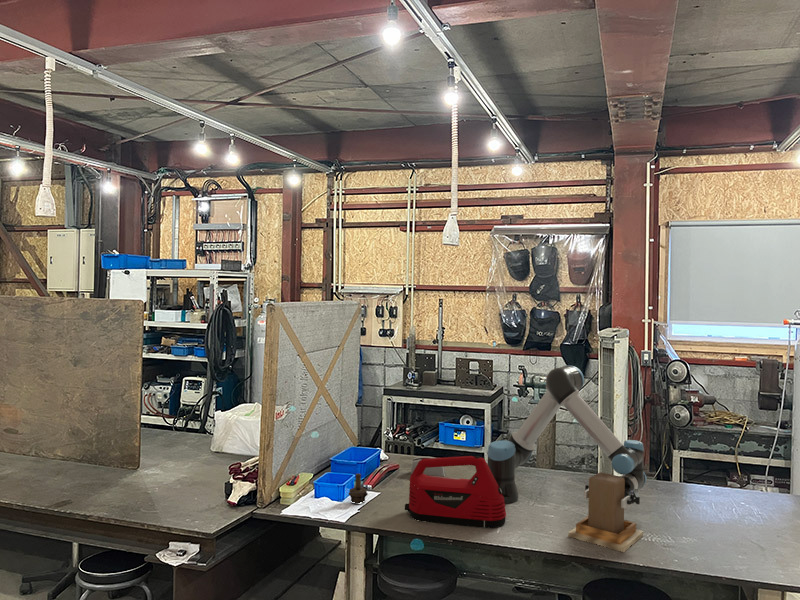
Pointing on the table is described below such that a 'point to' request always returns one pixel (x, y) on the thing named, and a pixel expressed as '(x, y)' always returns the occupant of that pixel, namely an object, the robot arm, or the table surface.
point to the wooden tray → (607, 535)
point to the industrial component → (358, 491)
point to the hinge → (428, 471)
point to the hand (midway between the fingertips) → (603, 499)
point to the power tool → (456, 495)
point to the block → (606, 502)
